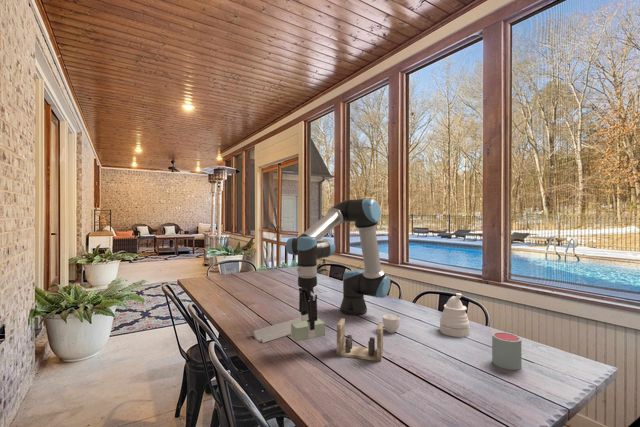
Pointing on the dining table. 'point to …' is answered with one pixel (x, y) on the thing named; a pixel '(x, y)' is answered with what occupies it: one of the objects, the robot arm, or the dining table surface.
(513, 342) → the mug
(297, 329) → the pale green block
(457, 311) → the honey pot
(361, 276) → the robot arm
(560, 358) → the dining table surface
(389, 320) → the cup
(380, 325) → the frame
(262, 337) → the crown molding
